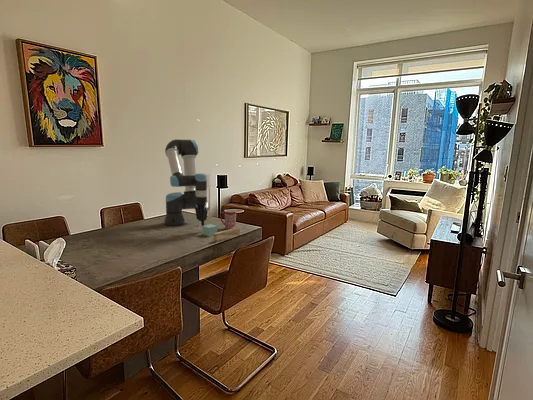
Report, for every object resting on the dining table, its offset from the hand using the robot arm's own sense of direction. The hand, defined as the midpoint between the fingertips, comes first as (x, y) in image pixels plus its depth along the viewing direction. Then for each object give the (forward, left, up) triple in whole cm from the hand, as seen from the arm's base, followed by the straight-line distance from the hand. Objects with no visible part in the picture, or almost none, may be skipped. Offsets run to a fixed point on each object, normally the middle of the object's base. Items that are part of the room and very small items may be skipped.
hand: (201, 229), depth 220 cm
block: (+8, 0, -2) cm, 9 cm away
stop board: (+22, +2, -2) cm, 23 cm away
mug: (+6, +19, -2) cm, 20 cm away
